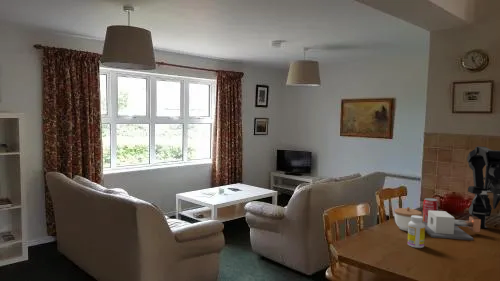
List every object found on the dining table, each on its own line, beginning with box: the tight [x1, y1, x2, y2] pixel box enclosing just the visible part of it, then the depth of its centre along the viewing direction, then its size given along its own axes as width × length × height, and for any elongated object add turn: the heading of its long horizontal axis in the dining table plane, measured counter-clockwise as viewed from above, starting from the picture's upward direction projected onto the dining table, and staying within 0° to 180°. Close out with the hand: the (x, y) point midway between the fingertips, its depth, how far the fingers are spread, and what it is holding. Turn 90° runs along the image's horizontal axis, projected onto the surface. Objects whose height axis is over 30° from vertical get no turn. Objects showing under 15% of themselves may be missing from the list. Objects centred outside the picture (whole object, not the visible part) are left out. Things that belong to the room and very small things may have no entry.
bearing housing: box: [424, 210, 474, 241], centre depth 178 cm, size 20×18×9 cm
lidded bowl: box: [394, 206, 423, 232], centre depth 182 cm, size 13×13×11 cm
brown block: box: [454, 215, 481, 233], centre depth 177 cm, size 5×14×6 cm, turn 81°
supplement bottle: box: [407, 215, 426, 249], centre depth 158 cm, size 7×7×13 cm
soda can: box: [422, 197, 439, 224], centre depth 193 cm, size 7×7×13 cm
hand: (490, 208), depth 175 cm, fingers open, 3 cm apart
